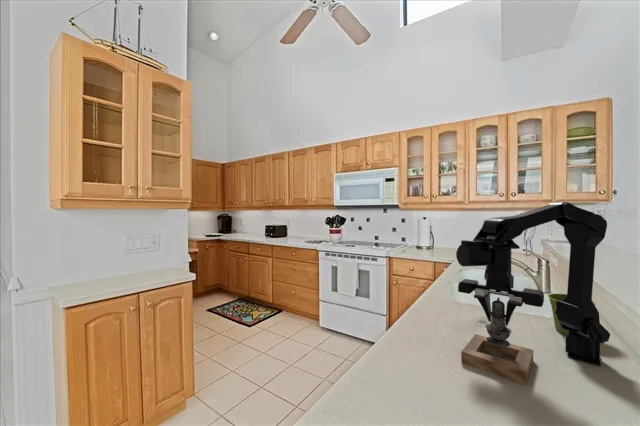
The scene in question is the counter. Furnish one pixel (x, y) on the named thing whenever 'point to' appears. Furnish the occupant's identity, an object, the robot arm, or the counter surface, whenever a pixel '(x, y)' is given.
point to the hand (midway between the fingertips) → (498, 323)
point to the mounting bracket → (483, 320)
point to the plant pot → (553, 300)
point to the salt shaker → (498, 325)
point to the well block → (495, 365)
